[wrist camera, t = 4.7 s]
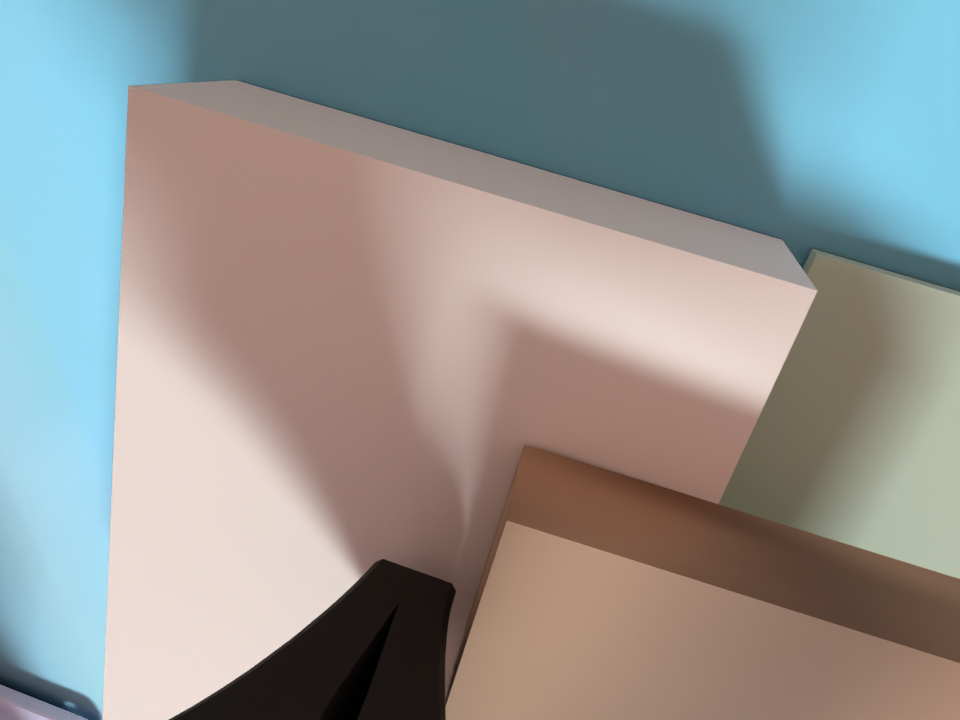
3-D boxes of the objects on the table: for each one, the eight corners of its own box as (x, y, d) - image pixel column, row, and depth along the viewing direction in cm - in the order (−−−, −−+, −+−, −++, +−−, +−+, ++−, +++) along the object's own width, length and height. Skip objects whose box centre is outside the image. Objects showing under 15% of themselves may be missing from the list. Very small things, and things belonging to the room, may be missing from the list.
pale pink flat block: (180, 639, 19) (101, 735, 16) (235, 80, 13) (128, 85, 11) (549, 779, 18) (530, 905, 15) (782, 239, 12) (817, 290, 10)
